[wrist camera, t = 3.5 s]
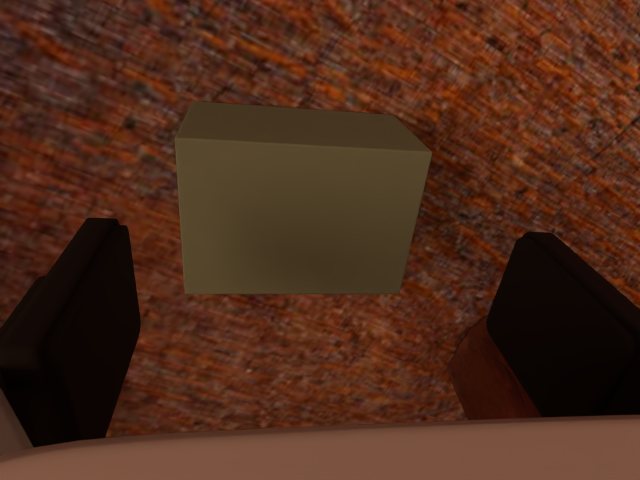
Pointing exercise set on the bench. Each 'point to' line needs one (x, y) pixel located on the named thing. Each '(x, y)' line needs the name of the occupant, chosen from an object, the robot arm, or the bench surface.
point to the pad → (296, 199)
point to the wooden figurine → (487, 380)
